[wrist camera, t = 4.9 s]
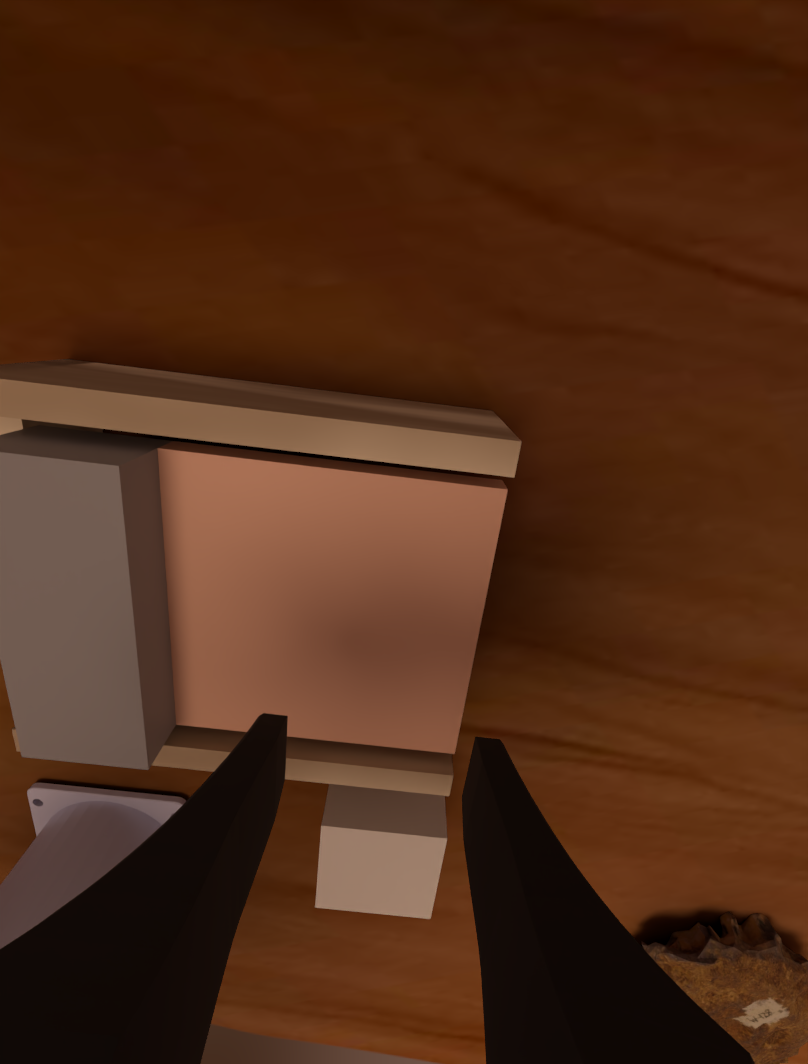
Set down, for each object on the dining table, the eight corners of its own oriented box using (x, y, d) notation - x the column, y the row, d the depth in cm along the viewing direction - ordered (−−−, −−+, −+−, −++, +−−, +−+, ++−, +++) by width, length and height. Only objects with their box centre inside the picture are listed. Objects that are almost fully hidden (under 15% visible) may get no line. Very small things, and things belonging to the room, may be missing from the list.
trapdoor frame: (442, 694, 23) (449, 796, 18) (105, 657, 23) (16, 751, 18) (492, 410, 19) (521, 441, 13) (67, 358, 18) (-69, 370, 13)
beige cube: (428, 815, 26) (430, 918, 22) (333, 805, 26) (315, 907, 22) (441, 742, 25) (447, 838, 20) (339, 731, 25) (321, 825, 20)
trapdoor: (452, 733, 19) (459, 802, 16) (80, 693, 19) (21, 757, 16) (502, 479, 15) (521, 513, 13) (39, 425, 15) (-47, 446, 12)
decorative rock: (726, 1047, 35) (810, 898, 30) (769, 1134, 31) (873, 980, 26) (566, 1044, 34) (623, 890, 29) (589, 1133, 30) (661, 973, 25)
